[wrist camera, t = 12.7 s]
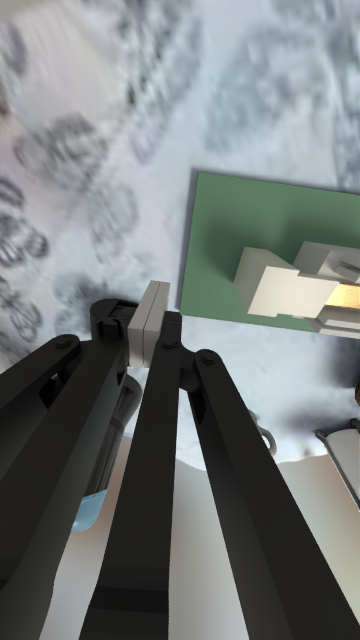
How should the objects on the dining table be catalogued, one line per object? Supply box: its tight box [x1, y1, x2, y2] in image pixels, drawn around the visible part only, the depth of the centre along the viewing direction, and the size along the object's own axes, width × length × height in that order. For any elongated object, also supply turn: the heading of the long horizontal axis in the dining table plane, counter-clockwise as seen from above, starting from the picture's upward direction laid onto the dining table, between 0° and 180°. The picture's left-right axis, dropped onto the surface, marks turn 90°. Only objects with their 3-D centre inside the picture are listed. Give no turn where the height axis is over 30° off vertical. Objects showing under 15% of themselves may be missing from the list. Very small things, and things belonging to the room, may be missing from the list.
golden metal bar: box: [326, 282, 360, 309], centre depth 19 cm, size 17×3×1 cm, turn 83°
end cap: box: [90, 299, 139, 367], centre depth 29 cm, size 10×7×7 cm
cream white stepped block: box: [233, 247, 340, 318], centre depth 20 cm, size 7×5×8 cm
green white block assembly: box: [179, 172, 360, 339], centre depth 21 cm, size 28×18×9 cm, turn 83°
